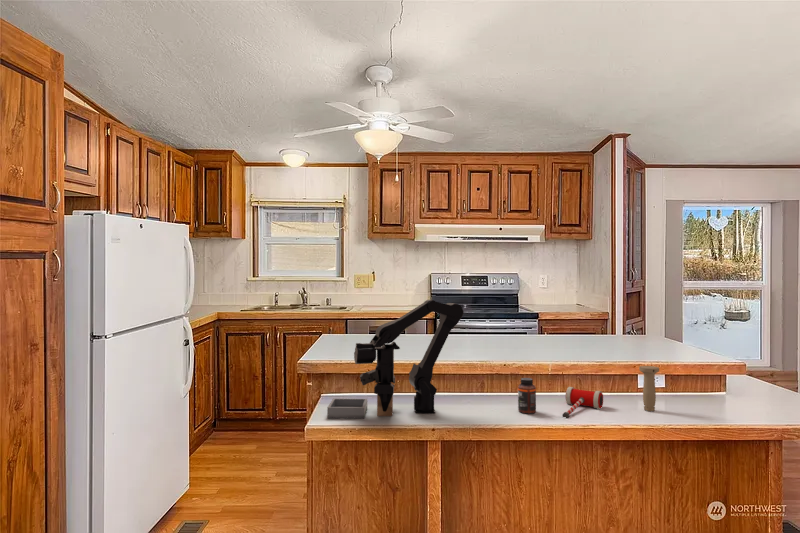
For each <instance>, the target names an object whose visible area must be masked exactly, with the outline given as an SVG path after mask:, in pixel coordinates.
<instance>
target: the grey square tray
mask: <svg viewBox="0 0 800 533" xmlns="http://www.w3.org/2000/svg"><path fill="white" fill-rule="evenodd" d="M326 411H327V415H326V417H327V419H340V418H345V419H346V418H347V419H351V420H352V419H353V420H355V419H356V420H357V419H361V420H364V419H365V418H366V415H365V414H367V412H366V411H368V398H340V397H339V398H332V400H331V401H330V403H329V404H328V406H327V409H326ZM347 419H346V420H347Z"/></svg>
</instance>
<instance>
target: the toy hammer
mask: <svg viewBox="0 0 800 533" xmlns="http://www.w3.org/2000/svg"><path fill="white" fill-rule="evenodd" d="M564 396H565V402H566V404H567V405H570V404H572V405H571V407H570V408H569V409H568V410H567V411H565V412H563V413H562V418H563V417H566V418H565V419H568V418H570V416H571V415H572V413H573V412H574V411H576V410H577V409H578V407H579V406H584V407H590V408H591V407H592V408H594V409H595V408H597V409H596V410H600V409H602V408H603V405H604V394H603V391H602V390H595V391H592V390H587V389H586V390H585V389H577V388H575V387H573V386H568V387H567V389H566V390H565V395H564ZM601 407H602V408H601ZM599 408H600V409H599Z"/></svg>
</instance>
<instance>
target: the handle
mask: <svg viewBox="0 0 800 533" xmlns="http://www.w3.org/2000/svg"><path fill="white" fill-rule="evenodd" d="M638 370H639V372H641V373H642V374H643V386H642V389H643V390H642V401H643V402H642V403H643V409H644V411H646V410H647V411H646V412H651V411H653V412H655V409H656V407H655V405H656V401H657V400H656V398H657V393H656V379H655V378H656V377H655V375H656V374H657V373H658V372H660V367H658V366H655V365H652V366H651V365H641V366H639V367H638Z"/></svg>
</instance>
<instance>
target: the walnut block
mask: <svg viewBox="0 0 800 533" xmlns="http://www.w3.org/2000/svg"><path fill="white" fill-rule="evenodd" d="M376 400H377V402H376V403H377V404H376V409H377V410H376V416H377V417H392V416H393V414H392V413H394V408H393V406H394V403H393V402H394V394H393V395H392V398H391V401H390V403H389V406H388V408H387V411H386V412H384V411H383V409H382V404H381V399H380V396H379V395H377V394H376Z"/></svg>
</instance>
